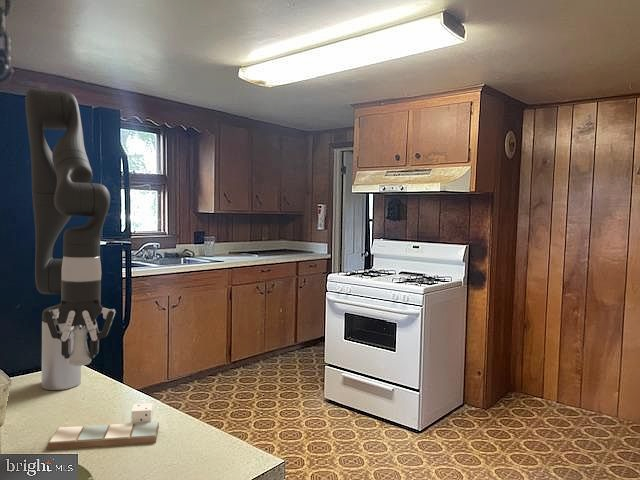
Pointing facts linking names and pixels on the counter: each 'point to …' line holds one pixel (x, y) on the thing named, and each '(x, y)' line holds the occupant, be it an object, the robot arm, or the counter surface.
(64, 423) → the counter surface
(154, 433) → the board
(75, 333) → the rook chess piece
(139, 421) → the die
